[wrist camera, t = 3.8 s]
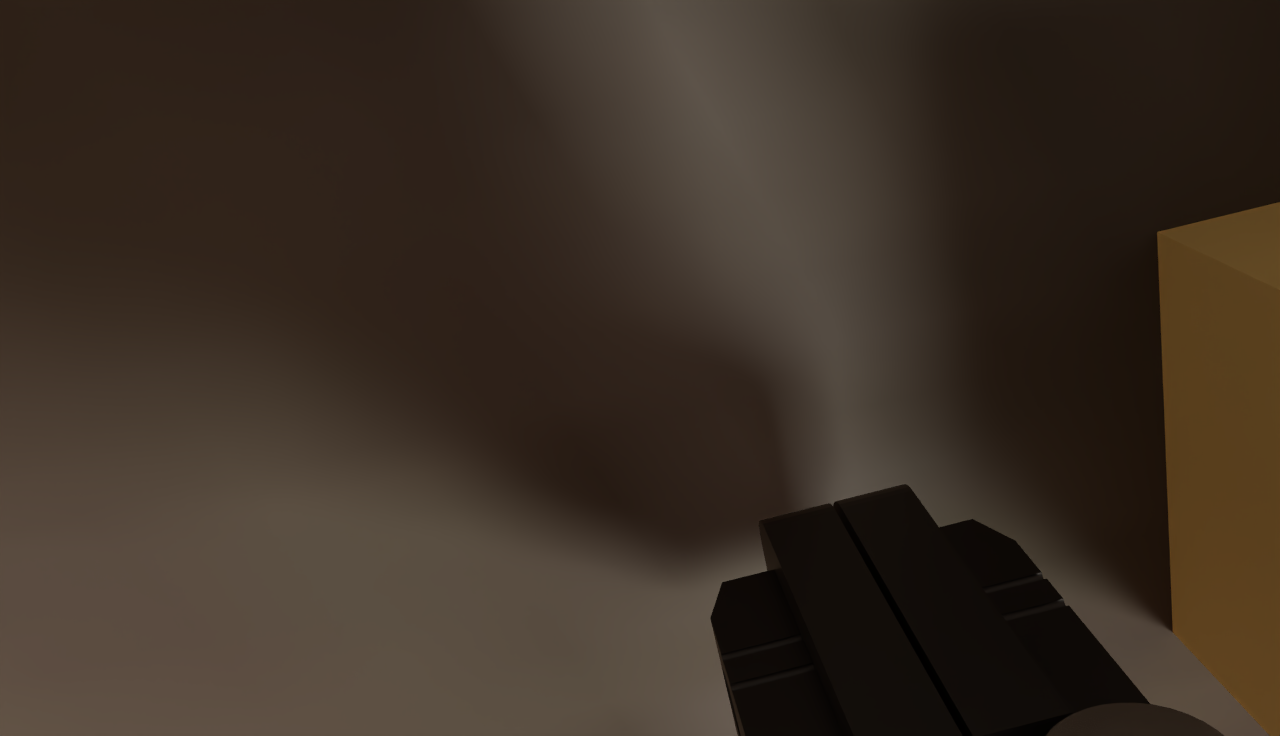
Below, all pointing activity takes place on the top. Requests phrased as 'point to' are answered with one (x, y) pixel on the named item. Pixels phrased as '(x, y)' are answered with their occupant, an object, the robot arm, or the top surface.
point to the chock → (1225, 447)
